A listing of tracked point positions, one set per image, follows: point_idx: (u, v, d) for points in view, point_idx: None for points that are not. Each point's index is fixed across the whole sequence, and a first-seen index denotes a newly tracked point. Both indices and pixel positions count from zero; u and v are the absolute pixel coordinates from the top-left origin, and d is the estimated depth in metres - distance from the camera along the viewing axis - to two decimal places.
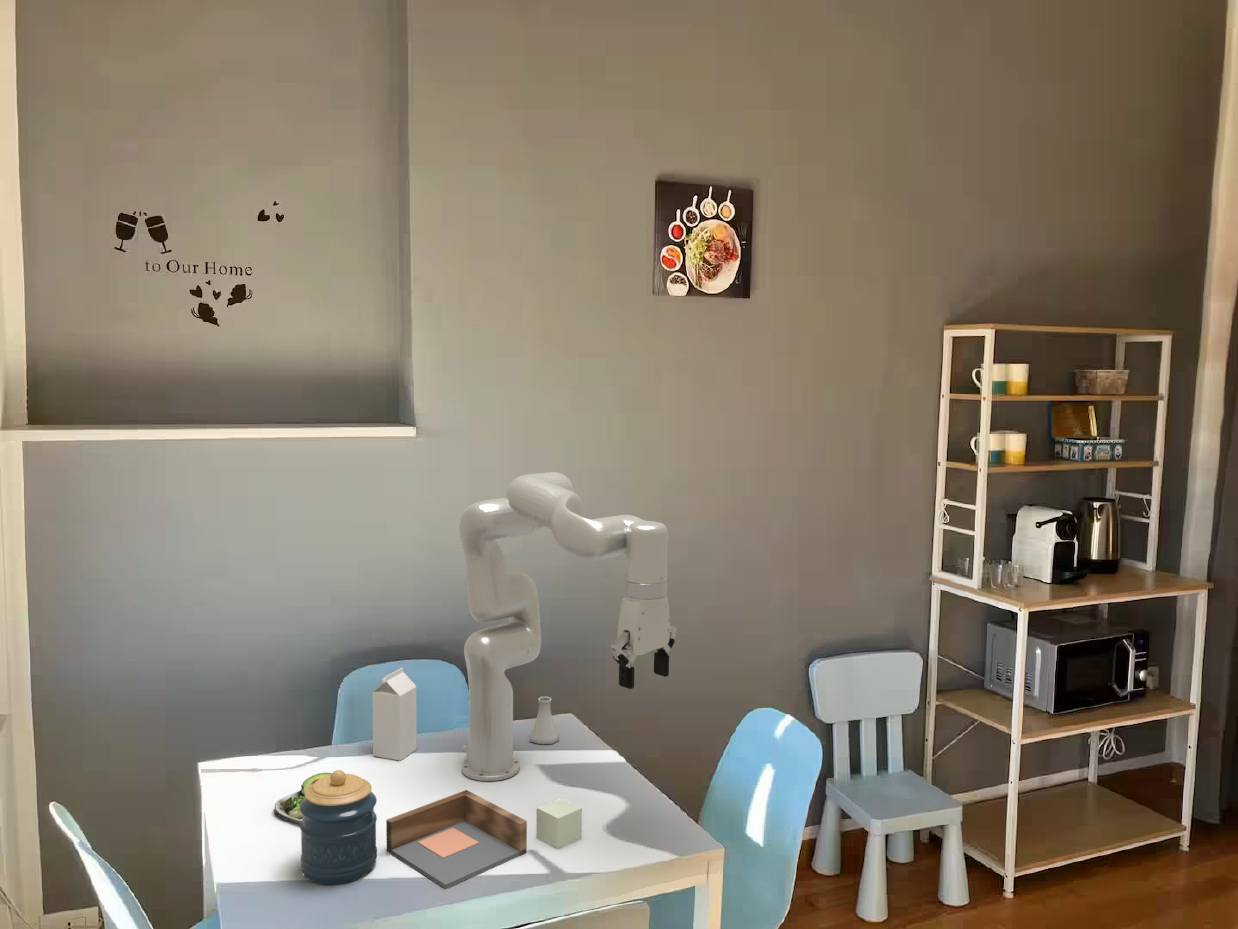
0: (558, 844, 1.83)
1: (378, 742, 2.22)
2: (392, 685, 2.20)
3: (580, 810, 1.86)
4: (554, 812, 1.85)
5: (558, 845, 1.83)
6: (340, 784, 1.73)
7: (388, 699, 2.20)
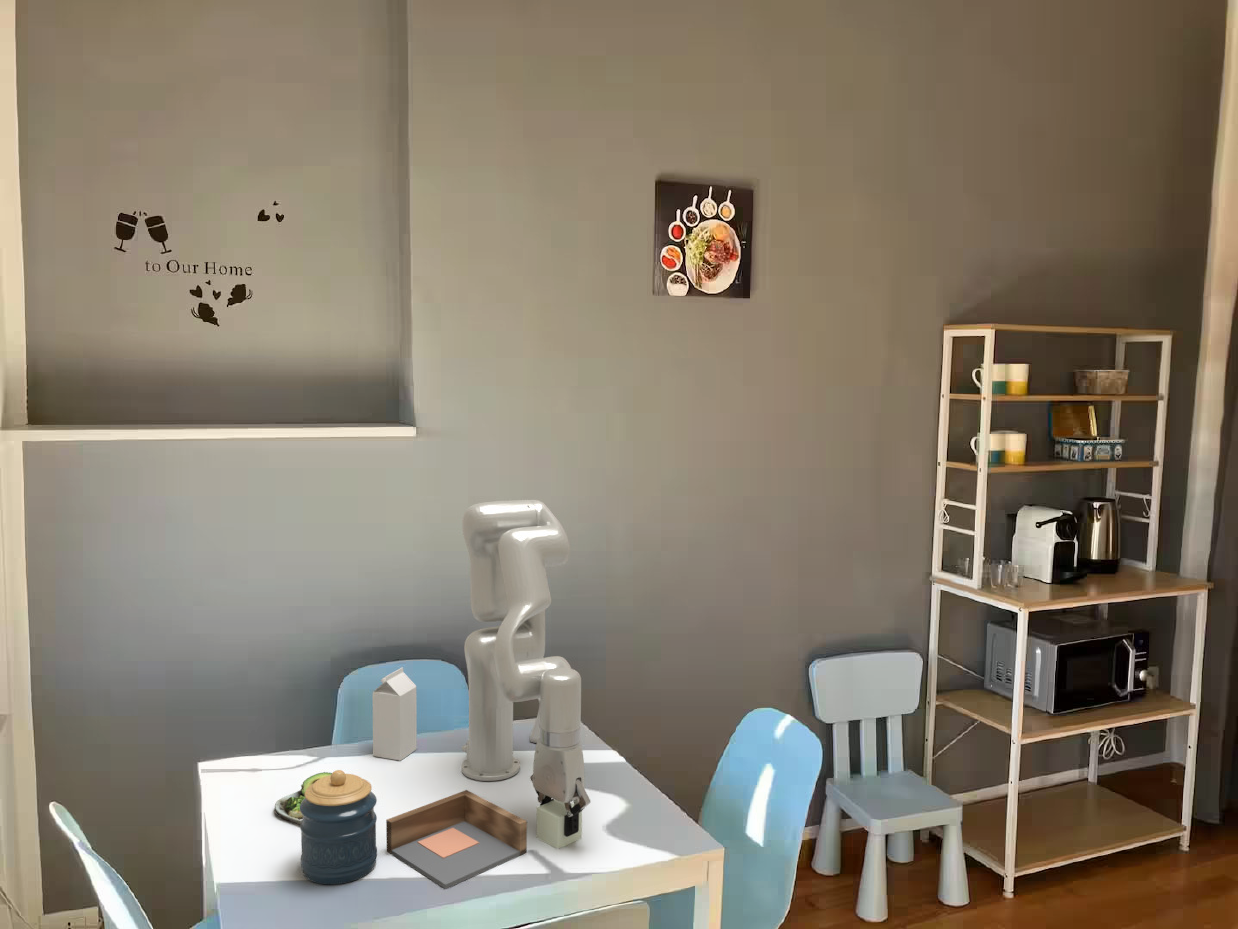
0: (558, 843, 1.83)
1: (378, 742, 2.22)
2: (392, 685, 2.20)
3: None
4: (554, 812, 1.85)
5: (558, 845, 1.83)
6: (340, 784, 1.73)
7: (388, 699, 2.20)
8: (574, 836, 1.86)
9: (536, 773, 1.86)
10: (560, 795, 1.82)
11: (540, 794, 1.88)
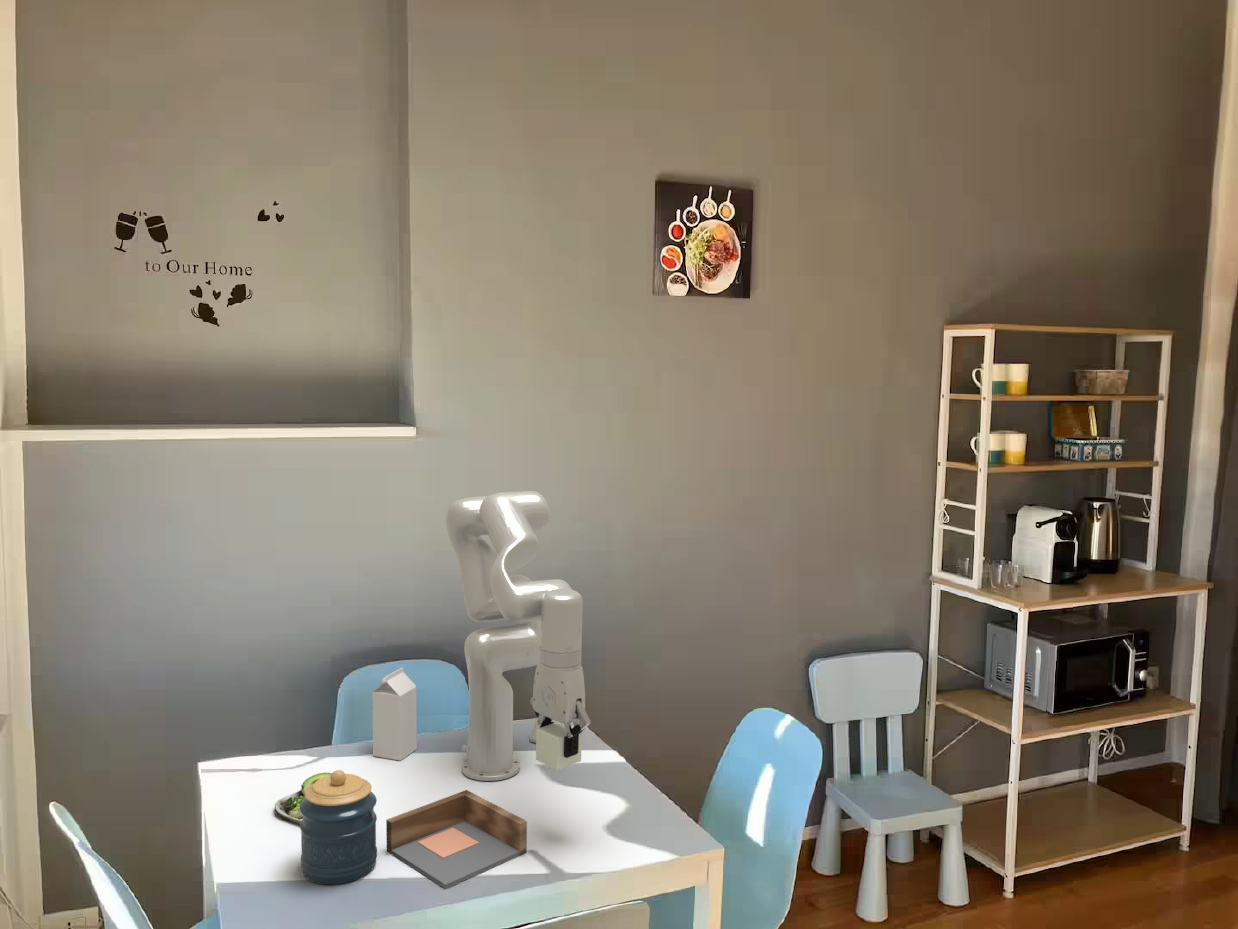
0: (558, 764, 1.82)
1: (378, 742, 2.22)
2: (392, 685, 2.20)
3: None
4: (554, 733, 1.83)
5: (557, 766, 1.82)
6: (340, 784, 1.73)
7: (388, 699, 2.20)
8: (574, 758, 1.85)
9: (536, 694, 1.85)
10: (560, 715, 1.80)
11: (540, 716, 1.87)
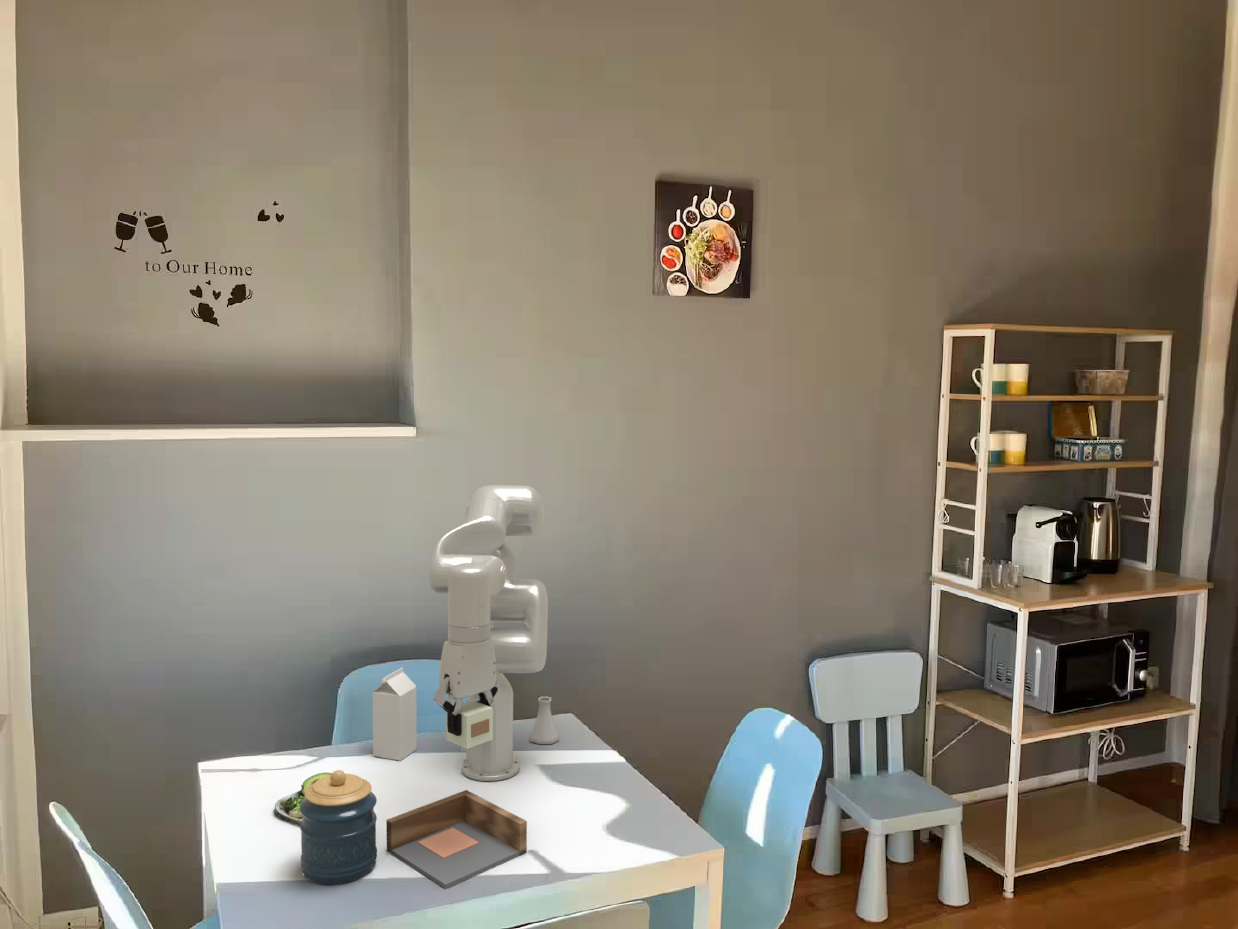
0: (446, 734, 1.81)
1: (378, 742, 2.22)
2: (392, 685, 2.20)
3: (465, 717, 1.77)
4: None
5: (446, 736, 1.81)
6: (340, 784, 1.73)
7: (388, 699, 2.20)
8: (460, 740, 1.78)
9: None
10: None
11: None
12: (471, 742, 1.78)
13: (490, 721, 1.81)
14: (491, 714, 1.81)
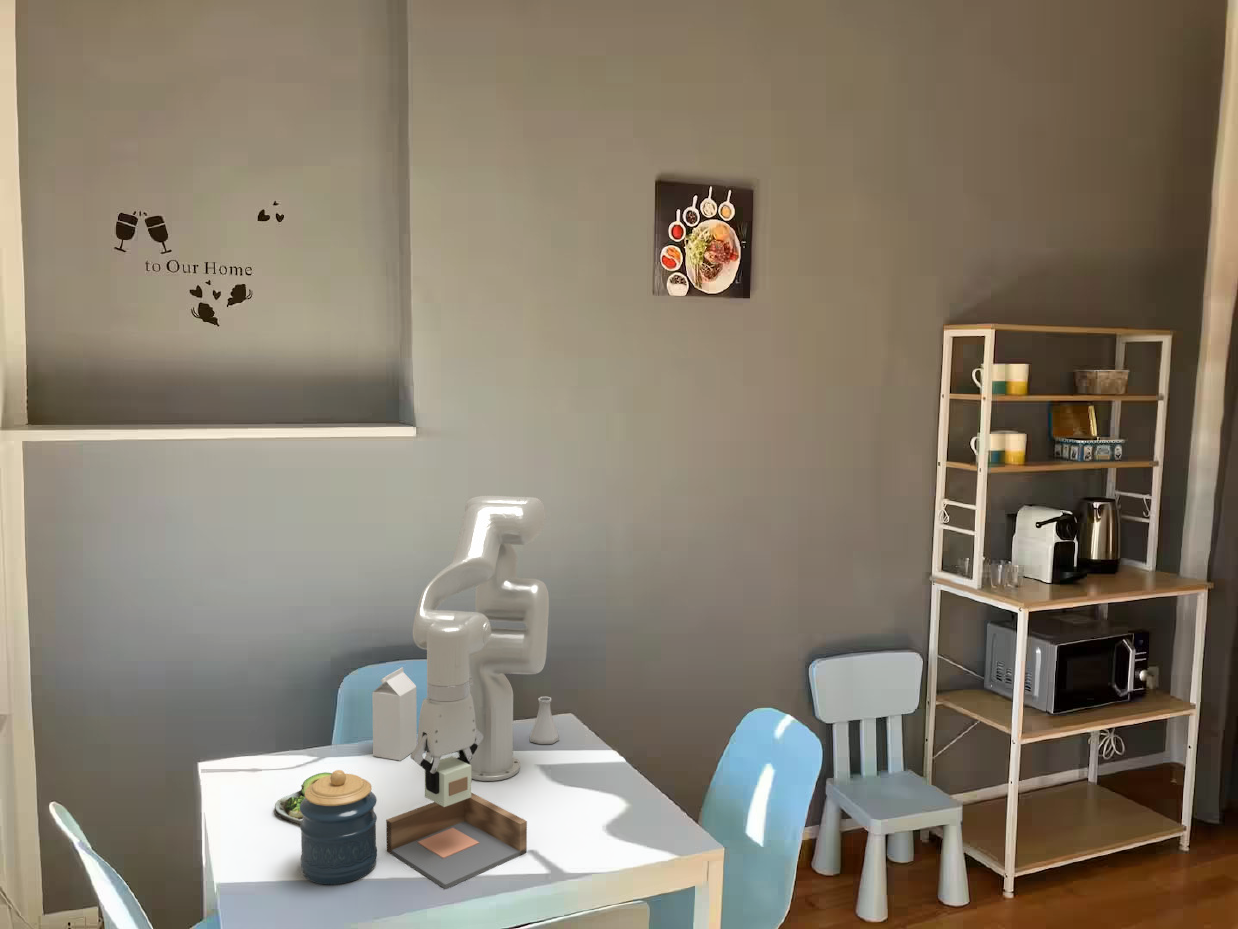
0: (425, 791, 1.81)
1: (378, 742, 2.22)
2: (392, 685, 2.20)
3: (442, 775, 1.77)
4: None
5: (425, 793, 1.81)
6: (340, 784, 1.73)
7: (388, 699, 2.20)
8: (438, 798, 1.78)
9: None
10: None
11: None
12: (448, 800, 1.78)
13: (468, 779, 1.81)
14: (469, 772, 1.81)
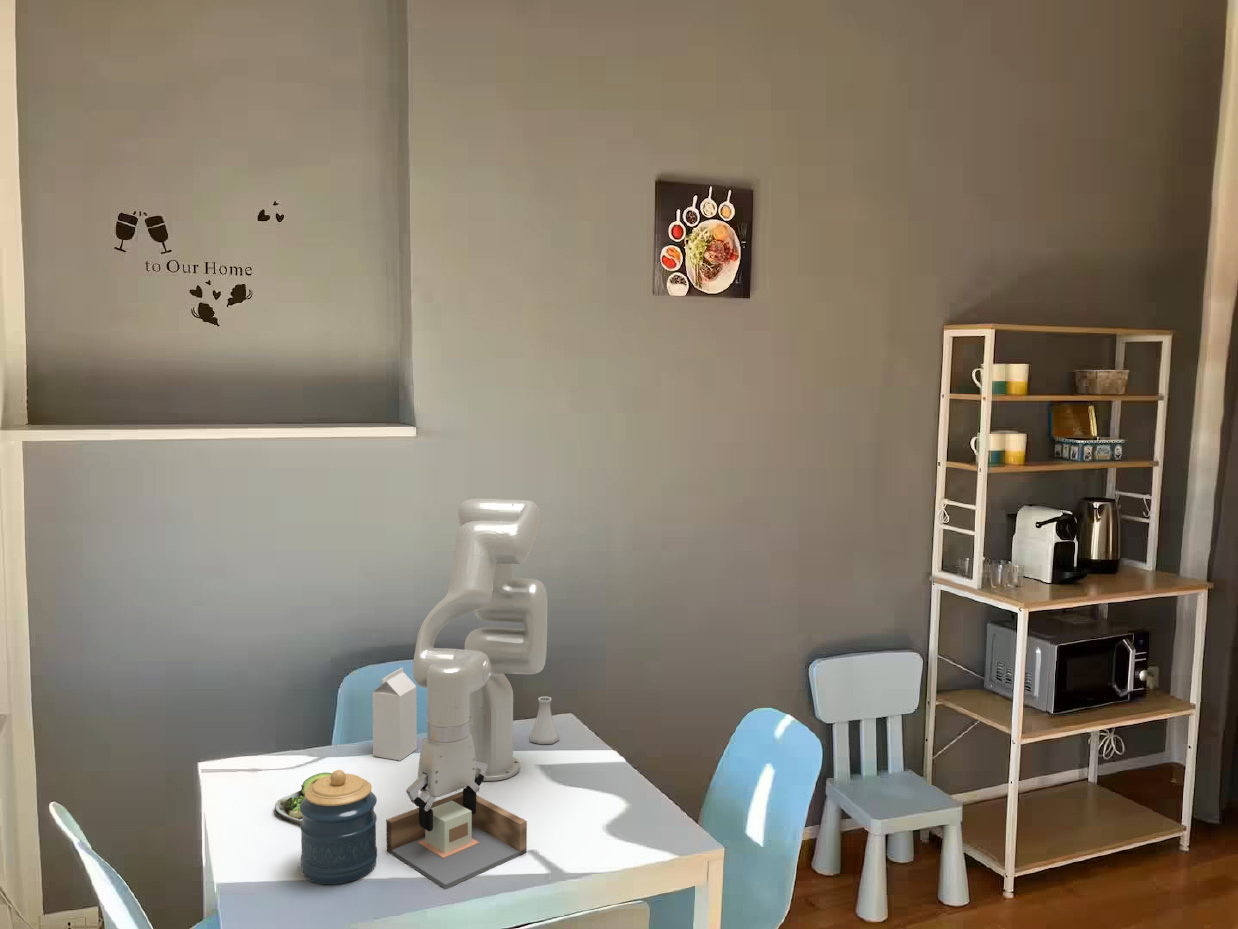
0: (425, 837, 1.82)
1: (378, 742, 2.22)
2: (392, 685, 2.20)
3: (443, 822, 1.78)
4: (438, 808, 1.83)
5: (425, 838, 1.83)
6: (340, 784, 1.73)
7: (388, 699, 2.20)
8: (438, 844, 1.80)
9: None
10: None
11: None
12: (449, 847, 1.79)
13: (469, 824, 1.82)
14: (470, 818, 1.82)
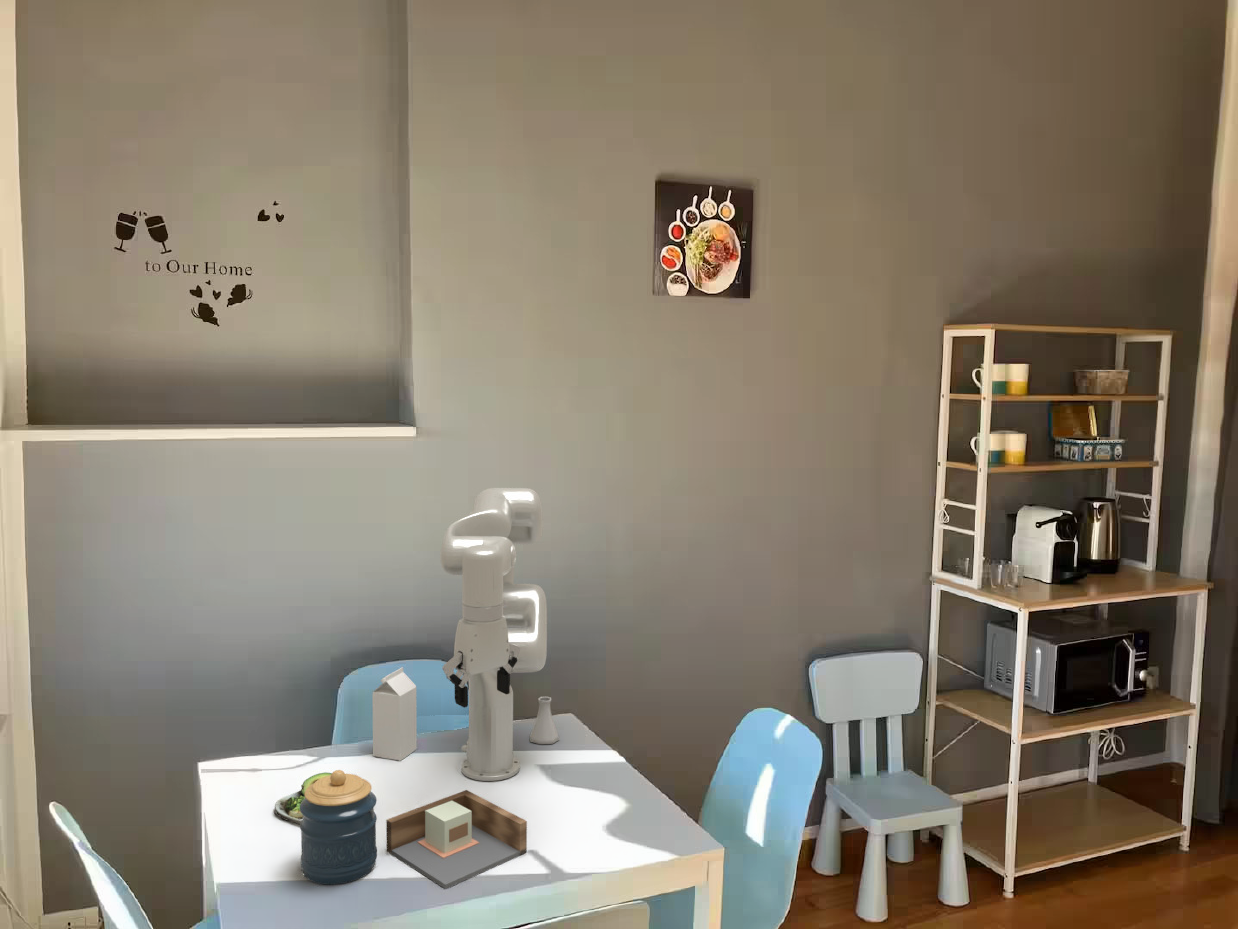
0: (425, 837, 1.82)
1: (378, 742, 2.22)
2: (392, 685, 2.20)
3: (443, 822, 1.78)
4: (438, 808, 1.83)
5: (425, 838, 1.83)
6: (340, 784, 1.73)
7: (388, 699, 2.20)
8: (438, 844, 1.80)
9: None
10: None
11: None
12: (449, 847, 1.79)
13: (469, 824, 1.82)
14: (470, 818, 1.82)
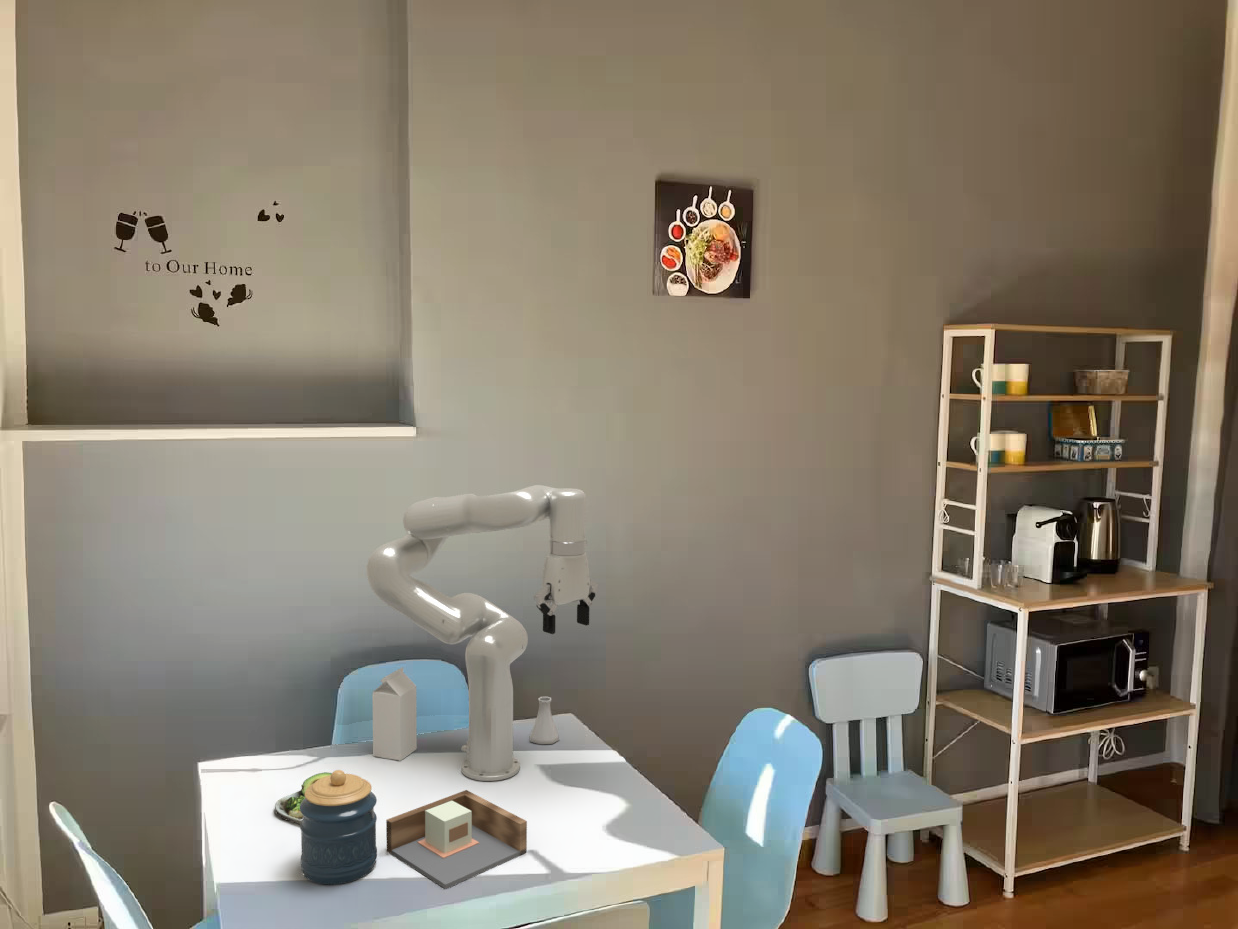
0: (425, 837, 1.82)
1: (378, 742, 2.22)
2: (392, 685, 2.20)
3: (443, 822, 1.78)
4: (438, 808, 1.83)
5: (425, 838, 1.83)
6: (340, 784, 1.73)
7: (388, 699, 2.20)
8: (438, 844, 1.80)
9: None
10: None
11: None
12: (449, 847, 1.79)
13: (469, 824, 1.82)
14: (470, 818, 1.82)
